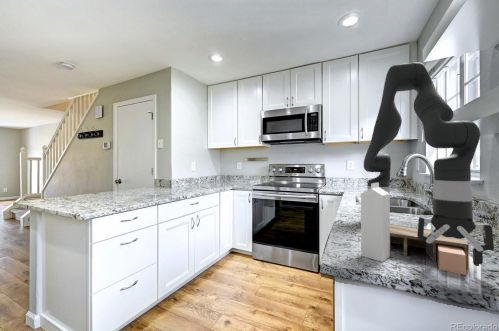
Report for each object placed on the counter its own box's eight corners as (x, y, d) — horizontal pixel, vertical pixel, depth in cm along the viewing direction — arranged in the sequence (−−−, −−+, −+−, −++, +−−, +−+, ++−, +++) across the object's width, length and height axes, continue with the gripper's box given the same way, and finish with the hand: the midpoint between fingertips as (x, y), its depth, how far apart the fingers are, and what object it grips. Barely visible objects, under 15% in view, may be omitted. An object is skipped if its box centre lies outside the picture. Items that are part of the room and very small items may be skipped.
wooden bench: (382, 240, 79) (382, 223, 79) (460, 253, 67) (460, 233, 67) (378, 250, 70) (378, 231, 70) (468, 268, 57) (468, 244, 57)
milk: (360, 256, 66) (359, 183, 66) (369, 250, 70) (368, 181, 70) (383, 262, 61) (382, 184, 61) (390, 256, 65) (389, 182, 65)
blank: (436, 257, 65) (436, 240, 65) (459, 261, 62) (459, 244, 62) (439, 269, 57) (439, 250, 57) (466, 275, 54) (465, 255, 54)
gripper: (487, 198, 55) (488, 262, 55) (416, 194, 64) (417, 250, 63) (497, 202, 49) (498, 274, 49) (417, 197, 58) (418, 258, 57)
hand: (452, 260), depth 56 cm, fingers open, 8 cm apart
